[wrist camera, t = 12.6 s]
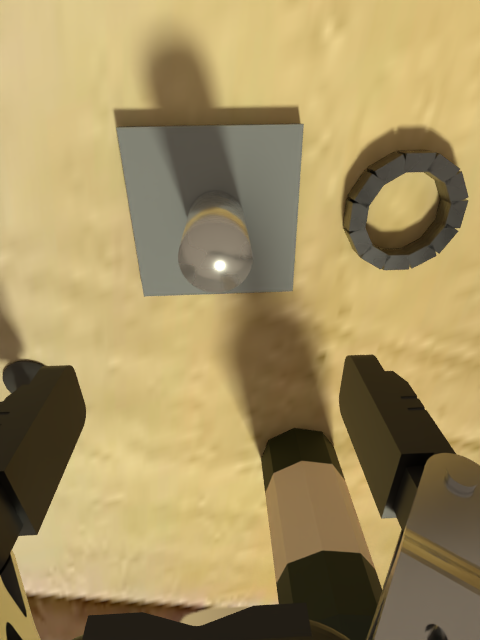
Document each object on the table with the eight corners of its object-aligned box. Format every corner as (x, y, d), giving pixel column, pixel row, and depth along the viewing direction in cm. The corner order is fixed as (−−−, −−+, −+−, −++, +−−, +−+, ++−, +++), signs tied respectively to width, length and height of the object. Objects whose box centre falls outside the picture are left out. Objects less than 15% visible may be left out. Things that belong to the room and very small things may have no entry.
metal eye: (469, 149, 26) (482, 151, 25) (438, 261, 30) (448, 268, 29) (352, 151, 26) (359, 154, 24) (337, 264, 30) (343, 271, 29)
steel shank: (243, 189, 26) (252, 221, 19) (244, 244, 28) (252, 291, 21) (186, 191, 25) (174, 223, 19) (190, 246, 28) (181, 294, 21)
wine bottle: (266, 482, 44) (335, 1026, 18) (255, 434, 40) (327, 1056, 14) (335, 471, 43) (507, 1009, 18) (332, 422, 39) (554, 1036, 13)
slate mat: (300, 123, 25) (303, 124, 24) (290, 285, 31) (292, 291, 30) (120, 126, 24) (116, 127, 23) (146, 290, 30) (144, 296, 29)
